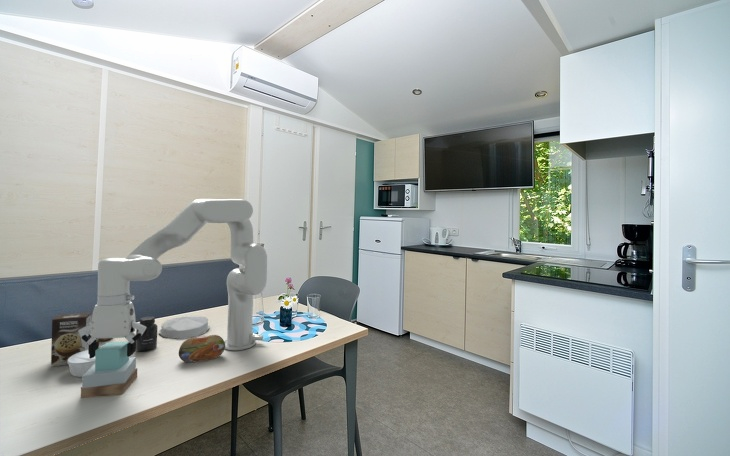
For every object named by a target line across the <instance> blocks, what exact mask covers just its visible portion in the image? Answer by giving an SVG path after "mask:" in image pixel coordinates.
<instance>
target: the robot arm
mask: <svg viewBox="0 0 730 456" xmlns="http://www.w3.org/2000/svg"><path fill="white" fill-rule="evenodd" d="M253 214H254V208H253V205H252V203H251V202H249V201H248V200H247V199H244V198H243V199H242V198H227V199H223V198H222V199H216V198H197V199H195V200H193V201H191V202H190V203H189V204H188V205H187V206H186V207H185V208H183V210H181V212H180V213H179V214H177V215H176V217H174V218H173V219H172V220H171V221H170V222H169V223H168V224H167V225H166V226H165V227H163V228H161V229H160V230H158V231H157V232H155V233H154V234H152V235H150V237H147V238H146V239H145V240H144V241H142V242H141V243H140V244H139V245H137V247H135V248H134V249H133V251H132V252H130V253H129V254H128V255H126V257H110V258H109V257H108V258H107V257H106V258H103V259H101V260H99V261H98V265H97V297H96V299H97V301H96V303H97V304H95V305H94V308H93V311H92V314H91V324H90V325H88V326H86V327H83V328H81V329H79V330H78V332H79V334H80V335H81V336H82V339H83V340H84V341H85V342H86V344H87V345H89V350H88V354H89V358H93V357H95V350H97V349H98V348H100V346H99V345H100V344H99V342H100V341H97V339H101V338H112V339H120V338H121V339H122V338H123V339H124V338H125V339H126V341H127V342H128V341H129V343H128V344H127V356H128V357H132V355H134V354H135V352H137V351H136V340H137V339H138V338H140V337H141V336H142V335H143V333H144V331H145V330H146V326H144V325H141V324H140V322H136V312H135V307H134V304H133V303H134V302H132V301H133V300H134V299H135V295H132V294H131V292H130V286H131V285H130V282H148V281H151V280H154V279H157V278H158V277H159V276H160V275H161V273H162V271H163V266H162V263H161V262H160V261H159V260H158V259H159V258H160V257H161V256H162V255H164V254H165V253H166V252H168V251H170V250H173V249H176V248H178V247H181V246H183V245H186V244H187V243H189V242H190V240H192V239H193V238H194V237H195V235H196V234H197V233H198V232H199V231H200V230H201V229H202V228H203V227H205V225H206V224H207V223H208V224H227V225H228V228H229V230H230V260H231V261H232V263H234V264H236V265H238V266H242V267H236V268H234V269H232V270H231V271H229V273H228V275H227V277H226V288H227V289H226V290H227V295H228V296H227V299H228V302H227V304H228V305H227V307H228V308H227V331H226V333H227V334H226V335H227V337H226V339H225V340H224V342H225V349H224V350H227V351H244V350H247V349H250V348H252V347H254V346H255V345H256V344H257V343H256V342H257V341H263V340H264V335H261V333H257V334H255V333H254V330H253V318H254V317H253V313H254V310H253V309H254V296H259V295H260V294H261V293H263V292H264V290H265V288H266V284H267V279H268V278H267V277H268V254H267V252H266V249H265V248H264V246H262V245H261V244H259V243H256V242H254V227H253V225H252V222H251V220H250V218H251V217H252V216H253ZM243 266H244V267H243ZM89 329H91V335H90V334H88V332H87V330H89ZM136 329H138V330H139V331H138V333H137V335H136V333H135V332H136Z"/></svg>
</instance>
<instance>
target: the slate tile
mask: <svg viewBox="0 0 730 456" xmlns="http://www.w3.org/2000/svg"><path fill="white" fill-rule="evenodd" d="M135 368H137V356H129V361H128V362H126V363H125V364H124V365H123V366H122V367H121V368H120V369H116V370H100V371H95V364H94V365H93V366H92V367H91V368H90V369H89V370H88V371H87V372H86V373H85V374H84V375H83V376H82V377H81V381H82V382H81V383H82V384H81V385H82V386H81V387H82V388H88V387H96V386H104V385H113V384H121V383H125V382H126V381H127V379H128V378H129V377H130V375H131V374H132V372H133V371H134V369H135Z"/></svg>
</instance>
